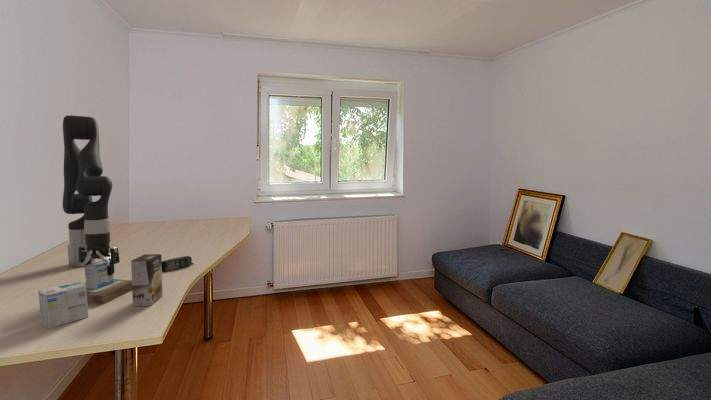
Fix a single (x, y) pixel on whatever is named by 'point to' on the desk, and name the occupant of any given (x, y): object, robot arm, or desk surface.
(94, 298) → the walnut plinth
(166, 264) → the dark remote control
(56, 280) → the desk surface
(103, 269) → the medicine box
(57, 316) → the light bulb box
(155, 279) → the coffee box
